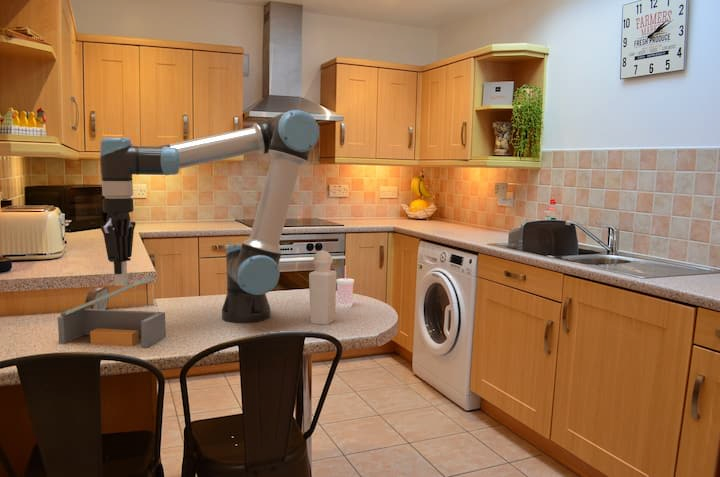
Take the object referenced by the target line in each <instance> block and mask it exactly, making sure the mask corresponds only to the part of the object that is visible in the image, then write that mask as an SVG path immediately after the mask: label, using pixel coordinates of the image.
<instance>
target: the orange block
mask: <svg viewBox="0 0 720 477" xmlns="http://www.w3.org/2000/svg"><path fill="white" fill-rule="evenodd" d="M89 336H90V344H91V345H107V346H122V347H123V346H124V347H134V346H136V345H137V344H139V343H140V339H139V338H140V337H139V333H138V331H137V330H120V329H103V328H97V329H95V330H92V331H90V335H89Z"/></svg>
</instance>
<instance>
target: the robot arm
mask: <svg viewBox="0 0 720 477" xmlns="http://www.w3.org/2000/svg"><path fill="white" fill-rule="evenodd" d="M319 126H320V125H318V123H317V121H316V119H315V118H314V116H313V115H312V114H310V112H307V111H305V110H302V109H301V110H299V109H292V110H291V109H290V110H289V111H286V112H284V113H280V114H278V115H276V116H274V117H271V118H268V119H267V120H263V121H260V122H255V123H253V125H252V126H251V127H248V128H247V127H246V128H241V129H238V130H231V131H228V132H223V133H218V134H213V135H208V136H204V137H199V138H193V139H189V140H184V141H179V142H174V143H169V144H164V145H159V146H153V145H152V146H146V145H145V146H144V145H143V146H140V145H139V146H138V145H133V144H132V140H131V138H127V137H105V138H102V139H101V141H100V152H99V153H100V154H99V155H100V156H99V158H100V172H101V174H100V175H101V190H102V191H101V196H102V197H103V198H102V199H101V202H102V203H101V204H102V212H103V213H106V214H107V217H106V224H105V225H101V226H100V230H101V232H102V235H103V238H104V243H105V249H106V255H107V261H109V262H110V263H111V262H112V263H113V272H114V274H113V275H114V287H125V286H128V269H127V268H128V267H127V266H128V265H127V264H128V263H127V262H130V261H131V258H132V254H133V243H134V242H133V241H134V231H135V227H136V224H137V223H136V221H132V220H131V216H130V213H133V211H134V210H135V208H134V199H133V197H132V196H134V188H133V175H136V176H137V175H138V176H139V175H141V176H143V175H146V176H149V175H150V176H171V175H172V176H173V175H174V176H176V175H178V174H179V173H180V170H182V169H185V168H190V167H195V166H199V165H204V164H209V163H212V162H218V161H222V160H228V159H231V158H236V157H241V156H245V155H250V154H254V153H258V154H261V155H265V154H269V155H270V156H271V157H270V158H271V160H270V164H269V166H268V170H267V174H266V178H265V182H264V185H263V189H262V192H261V196H260V200H259V202H258V206H257V210H256V213H255V218H254V221H253V224H252V228H251V232H250V234H249V237H248V238H247V239H245V240H243V241H242V244H230V245H228V246H227V247H226V251H225V252H226V253H225V257H226V260H225V261H226V262H225V263H226V296H225V299H224V303H223V306H222V309H221V318H222V320H224V321H227V322H230V323H253V322H261V321H265V320H267V319H269V318H271V316H272V313H271V312H272V311H271V307H270V302H269V301H268V300H269V299H268V297H267V293H270V292H271V291H272V290H273V289H274V288H276V286H277V285H278V283H279V280H280V275H281V272H280V267H279V264H280V261H281V257H282V250H281V249H280V247H279V245H280V241H281V237H282V235H283V230H284V227H285V223H286V220H287V215H288V214H289V212H288V211H289V209H290V206H291V202H292V198H293V195H294V192H295V187H296V185H297V180H298V176H299V173H300V170H301V167H302V166H304V165H306V164H307V163H308V161H309V157H310V154H311V150H312V149H313V148H314V147H315V146H316V145H317V143H318V141H319V138H320V127H319Z"/></svg>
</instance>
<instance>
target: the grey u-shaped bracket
mask: <svg viewBox="0 0 720 477" xmlns="http://www.w3.org/2000/svg"><path fill="white" fill-rule="evenodd" d="M57 325H58V326H57V327H58V328H57V329H58V343H59V344H67V343H69V342H71V341H72V340H75V339H77V338H79V337H82V336H85V335H87V336H90V331H92V330H95V329H97V328H103V329H120V330H137V331H138V333H139V338H141V348H146V349H148V348H150V347H151V346H153V345H155V344H156V343H159V342H160V341H162V340H164V339H165V338H166V337H167V336H166V335H167V334H166V333H167V332H166V329H167V328H166V312H165V311H146V310H144V311H143V310H123V309H106V310H103V309H84V310H81V311H79V312H76V313H73V314H71V315H68V316H66V317H62V316H61V315H60V316H58V317H57Z"/></svg>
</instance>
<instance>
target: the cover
mask: <svg viewBox="0 0 720 477" xmlns="http://www.w3.org/2000/svg"><path fill="white" fill-rule="evenodd" d="M151 280H153V277H152V276H149V277H146V278H144V279H140V280H138V281H136V282H132V283H130V284H127V286H122V287H121V288H118V289H116V290H114V291H112V292H111V291H110V292H109V294H106V295H104V296H102V297H99V298H97V299H95V300H92V301H90V302H88V303H85V302H84V304H80V305H77V306H75V307H72V308H70V309H67V310H65V311H62V312H61V313H60V316H62V317H66V316H68V315H71V314H73V313H76V312H79V311H81V310H84V309H86V308H87V307H88V306H91V305H93V304H95V303H98V302H100V301H102V300H105V299H107V298H108V299H110V298H112V297H114V296H116V295H118V294H121V293H124V292H125V291H129V290H130V289H132V288H135V287H137V286H140V285H143V284H144V283H148V282H149V281H151Z"/></svg>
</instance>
